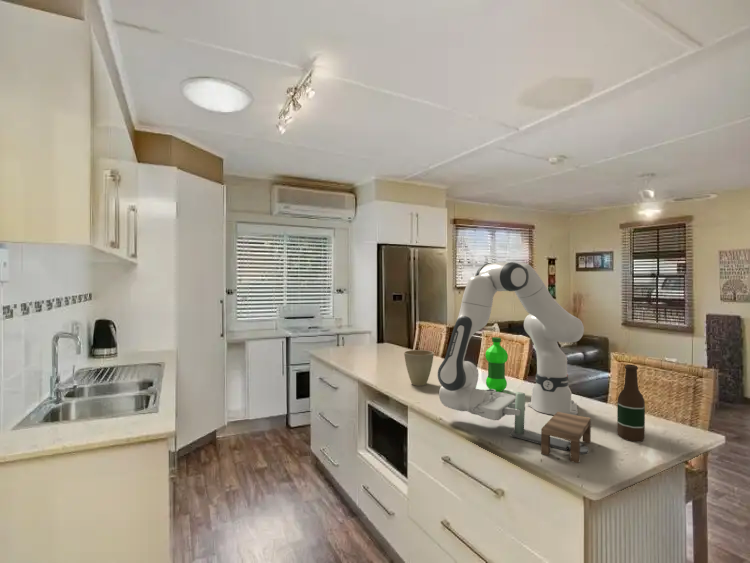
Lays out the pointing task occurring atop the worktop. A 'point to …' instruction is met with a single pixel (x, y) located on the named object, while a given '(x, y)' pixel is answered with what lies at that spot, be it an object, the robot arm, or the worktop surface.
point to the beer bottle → (631, 408)
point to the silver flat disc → (582, 448)
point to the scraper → (528, 435)
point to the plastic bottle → (496, 366)
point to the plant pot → (418, 365)
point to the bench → (566, 432)
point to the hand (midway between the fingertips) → (522, 410)
